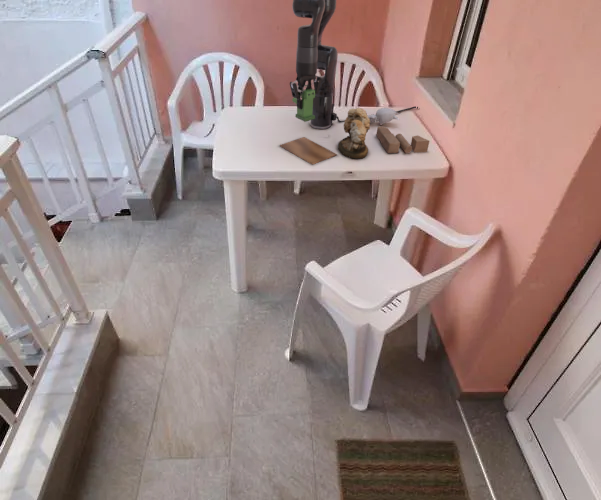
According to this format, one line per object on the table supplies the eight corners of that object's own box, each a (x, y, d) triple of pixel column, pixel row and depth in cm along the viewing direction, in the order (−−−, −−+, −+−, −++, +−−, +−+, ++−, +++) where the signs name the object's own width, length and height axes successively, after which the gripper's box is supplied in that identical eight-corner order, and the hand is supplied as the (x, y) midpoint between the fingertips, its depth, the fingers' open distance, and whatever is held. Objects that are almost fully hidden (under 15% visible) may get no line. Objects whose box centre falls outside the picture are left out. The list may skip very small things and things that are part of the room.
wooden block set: (390, 141, 163) (377, 123, 176) (388, 155, 166) (375, 136, 180) (431, 139, 165) (414, 122, 179) (428, 153, 169) (412, 134, 182)
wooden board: (304, 138, 176) (304, 136, 176) (336, 155, 165) (336, 154, 164) (280, 146, 170) (280, 144, 169) (312, 164, 158) (312, 163, 158)
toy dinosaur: (287, 100, 159) (301, 83, 149) (297, 97, 162) (312, 81, 152) (300, 126, 160) (315, 112, 149) (309, 123, 162) (325, 109, 152)
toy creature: (358, 109, 195) (402, 107, 191) (358, 125, 198) (401, 123, 193) (355, 109, 184) (402, 107, 179) (355, 126, 186) (401, 124, 181)
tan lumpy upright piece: (333, 140, 175) (336, 100, 164) (359, 139, 177) (364, 99, 166) (344, 160, 162) (348, 117, 151) (373, 158, 163) (379, 116, 153)
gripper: (298, 65, 140) (296, 114, 151) (328, 58, 147) (325, 106, 158) (284, 59, 144) (284, 108, 155) (314, 53, 152) (312, 100, 162)
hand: (305, 107), depth 157 cm, fingers closed on toy dinosaur, 4 cm apart
